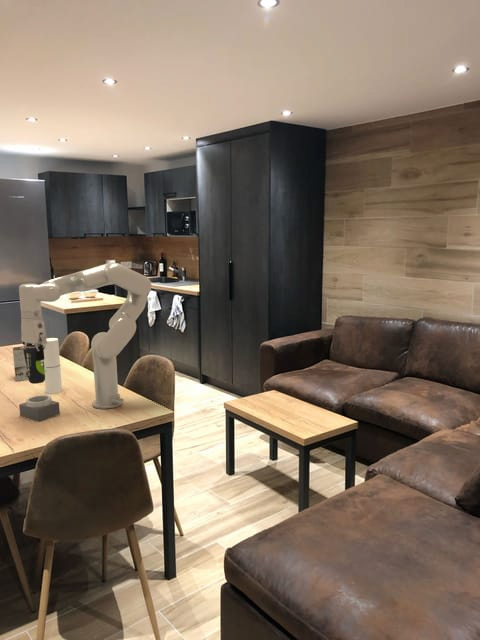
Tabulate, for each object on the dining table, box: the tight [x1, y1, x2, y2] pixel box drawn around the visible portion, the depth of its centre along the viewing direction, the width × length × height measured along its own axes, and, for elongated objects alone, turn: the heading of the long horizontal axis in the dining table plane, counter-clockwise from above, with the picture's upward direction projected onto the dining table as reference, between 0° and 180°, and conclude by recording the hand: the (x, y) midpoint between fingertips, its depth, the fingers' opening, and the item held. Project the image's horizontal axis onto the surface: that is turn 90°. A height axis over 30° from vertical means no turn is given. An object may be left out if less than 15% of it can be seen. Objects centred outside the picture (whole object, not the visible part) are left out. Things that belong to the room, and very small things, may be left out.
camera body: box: [18, 394, 61, 423], centre depth 204 cm, size 12×10×7 cm
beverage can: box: [26, 344, 45, 385], centre depth 201 cm, size 6×6×15 cm
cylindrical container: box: [44, 337, 63, 395], centre depth 234 cm, size 7×7×25 cm
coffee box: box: [12, 345, 29, 382], centre depth 257 cm, size 9×6×16 cm
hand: (35, 358), depth 200 cm, fingers closed on beverage can, 6 cm apart
